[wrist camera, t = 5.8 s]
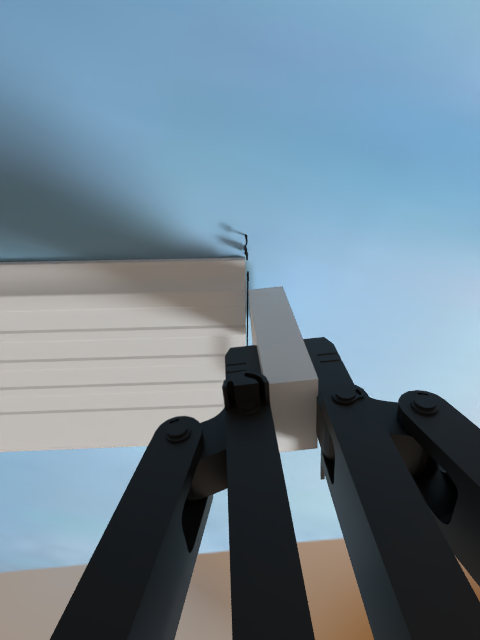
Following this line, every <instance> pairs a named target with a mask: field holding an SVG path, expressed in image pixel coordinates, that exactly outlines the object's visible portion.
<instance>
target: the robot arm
mask: <svg viewBox="0 0 480 640" xmlns="http://www.w3.org/2000/svg"><path fill="white" fill-rule="evenodd" d="M248 293H249V305H250V317H251V329H252V341H253V345H252V346H242V347H232V348H230V349H229V350H228V352H227V353H226V355H225V377H226V379H225V380H224V382H223V385H222V391H223V398H224V405H225V407H224V409H223V410H222V411H221V412H220V413H219V414H218V415H216V416H215V417H213V418H211V419H209V420H207V421H204V422H201V423H199V421H197V420H196V419H195V418H193V417H189V416H176V417H174V418H171V419H168V420H166V421H165V422H163V423H162V424H161V425H160V426H159V427H158V428H157V430H156V431H155V433H154V435H153V437H152V439H151V441H150V443H149V445H148V447H147V449H146V451H145V453H144V455H143V457H142V459H141V461H140V463H139V465H138V467H137V469H136V471H135V472H134V474H133V476H132V478H131V480H130V482H129V484H128V486H127V488H126V490H125V492H124V494H123V496H122V498H121V500H120V502H119V504H118V506H117V508H116V510H115V512H114V514H113V516H112V518H111V520H110V522H109V524H108V526H107V528H106V530H105V532H104V534H103V536H102V538H101V540H100V542H99V544H98V546H97V547H96V549H95V551H94V553H93V555H92V557H91V559H90V561H89V563H88V565H87V567H86V569H85V571H84V573H83V575H82V577H81V579H80V581H79V583H78V585H77V587H76V589H75V591H74V593H73V595H72V597H71V599H70V601H69V603H68V605H67V607H66V609H65V611H64V613H63V615H62V617H61V619H60V621H59V622H58V625H57V626H56V628H55V630H54V633H53V634H52V636H51V638H50V640H174V639H175V635H176V631H177V628H178V624H179V620H180V617H181V613H182V609H183V605H184V602H185V599H186V594H187V591H188V588H189V584H190V580H191V577H192V573H193V569H194V565H195V562H196V558H197V555H198V551H199V547H200V544H201V540H202V536H203V533H204V529H205V525H206V522H207V518H208V514H209V511H210V507H211V503H212V500H213V494H215V493H217V492H220V491H222V490H224V489H227V488H228V514H229V545H230V573H231V605H232V632H233V633H232V636H233V640H315V638H314V632H313V627H312V622H311V617H310V611H309V606H308V601H307V596H306V590H305V585H304V580H303V575H302V569H301V564H300V559H299V553H298V548H297V543H296V538H295V532H294V527H293V522H292V517H291V511H290V506H289V501H288V495H287V490H286V485H285V480H284V474H283V469H282V464H281V459H280V453H279V452H286V451H296V450H305V449H315V448H317V437H318V440H319V443H320V447H321V479H324V477H325V476H326V480H327V483H328V487H329V490H330V493H331V497H332V500H333V503H334V507H335V510H336V513H337V517H338V520H339V523H340V527H341V530H342V533H343V537H344V540H345V543H346V547H347V550H348V553H349V557H350V560H351V563H352V567H353V570H354V573H355V577H356V580H357V584H358V587H359V590H360V594H361V597H362V600H363V603H364V607H365V610H366V614H367V617H368V620H369V624H370V627H371V630H372V634H373V637H374V640H480V602H479V600H478V598H477V596H476V594H475V592H474V591H473V589H472V587H471V585H470V583H469V581H468V579H467V578H466V576H465V574H464V572H463V570H462V568H461V567H460V565H459V563H458V561H457V559H458V560H459V561H460V562H461V564H462V565H463V566H464V567H465V569H466V570H467V571H468V572H469V574H470V575H471V576H472V578H473V579H474V580H475V581H476V582H477V584H478V585H479V586H480V429H479V428H478V427H477V426H476V425H475V424H473V423H472V422H471V421H470V420H469V419H467V418H466V417H465V416H464V415H462V414H461V413H460V412H459V411H458V410H456V409H455V408H454V407H453V406H452V405H450V404H449V403H448V402H447V401H445V400H444V399H443V398H441V397H439V396H438V395H436V394H433V393H430V392H427V391H419V390H416V391H408V392H406V393H404V394H402V395H401V397H400V398H399V401H398V403H397V402H388V401H381V400H376V399H373V398H370V397H369V396H368V394H367V393H366V392H365V391H364V390H363V389H362V388H360V387H359V386H357V385H354V383H353V381H352V379H351V377H350V375H349V373H348V371H347V370H346V368H345V366H344V364H343V362H342V361H341V358H340V356H339V354H338V352H337V350H336V348H335V346H334V344H333V343H331V342H330V341H329V340H327V339H326V338H325V337H320V338H311V339H303V338H302V335H301V333H300V330H299V328H298V325H297V322H296V320H295V317H294V315H293V312H292V310H291V307H290V304H289V302H288V299H287V297H286V294H285V291H284V289H283V287H273V288H263V289H253V290H248ZM455 556H456V557H457V559H456V557H455Z"/></svg>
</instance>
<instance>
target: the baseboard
mask: <svg viewBox="0 0 480 640" xmlns="http://www.w3.org/2000/svg"><path fill="white" fill-rule="evenodd" d="M245 239H246V245H247V235H245ZM246 245H245V255H246V259H247V260H248V253H247V248H246ZM248 281H249V272H248V271H247V346H248ZM245 336H246V282H245V257H244V258H191V259H138V260H85V261H32V262H0V452H12V451H37V450H61V449H86V448H110V447H134V446H148V445H149V443H150V441H151V439H152V437H153V435H154V433H155V431H156V430H157V428H158V427H159V426H160V425H161V424H162V423H163V422H165V421H166V420H168V419H171V418H174V417H176V416H189V417H193V418H195V419H196V420H197V421H199V423H201V422H204V421H207V420H209V419H211V418H213V417H215V416H216V415H218V414H219V413H220V412H221V411H222V410H223V409H224V407H225V405H224V398H223V391H222V385H223V382H224V380H225V379H226V377H225V355H226V353H227V352H228V350H229V349H230V348H232V347H242V346H245Z"/></svg>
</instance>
